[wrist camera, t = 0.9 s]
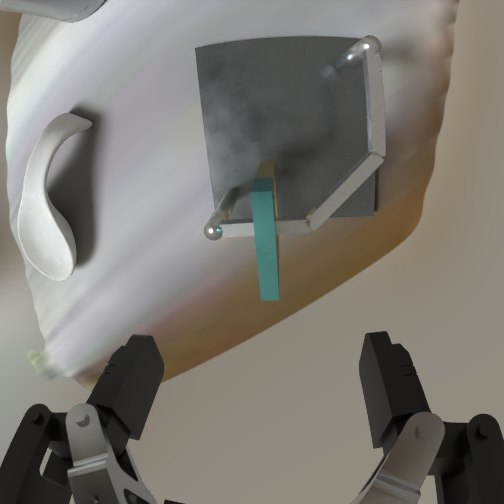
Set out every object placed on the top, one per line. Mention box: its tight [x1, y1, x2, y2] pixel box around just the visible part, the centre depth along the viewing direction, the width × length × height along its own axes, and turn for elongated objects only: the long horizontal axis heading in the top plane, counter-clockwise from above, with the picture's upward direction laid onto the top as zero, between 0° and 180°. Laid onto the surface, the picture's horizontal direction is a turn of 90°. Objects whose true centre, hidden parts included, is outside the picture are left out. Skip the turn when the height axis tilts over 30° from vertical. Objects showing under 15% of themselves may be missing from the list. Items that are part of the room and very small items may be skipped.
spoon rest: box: [17, 113, 92, 281], centre depth 29 cm, size 24×12×7 cm, turn 154°
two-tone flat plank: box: [250, 160, 279, 301], centre depth 22 cm, size 7×1×11 cm, turn 5°
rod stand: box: [195, 35, 386, 240], centre depth 22 cm, size 19×17×10 cm
